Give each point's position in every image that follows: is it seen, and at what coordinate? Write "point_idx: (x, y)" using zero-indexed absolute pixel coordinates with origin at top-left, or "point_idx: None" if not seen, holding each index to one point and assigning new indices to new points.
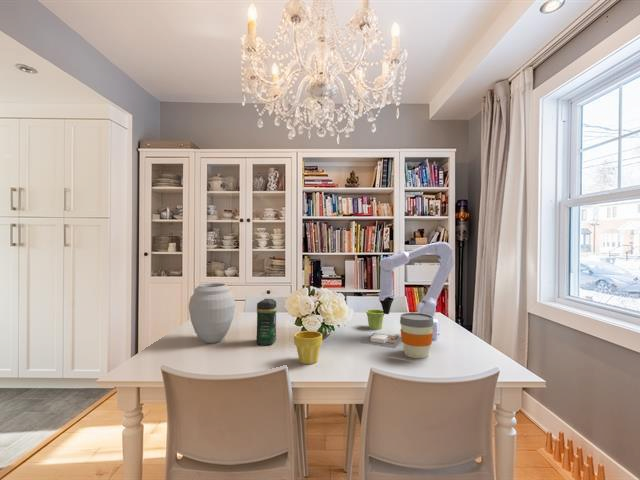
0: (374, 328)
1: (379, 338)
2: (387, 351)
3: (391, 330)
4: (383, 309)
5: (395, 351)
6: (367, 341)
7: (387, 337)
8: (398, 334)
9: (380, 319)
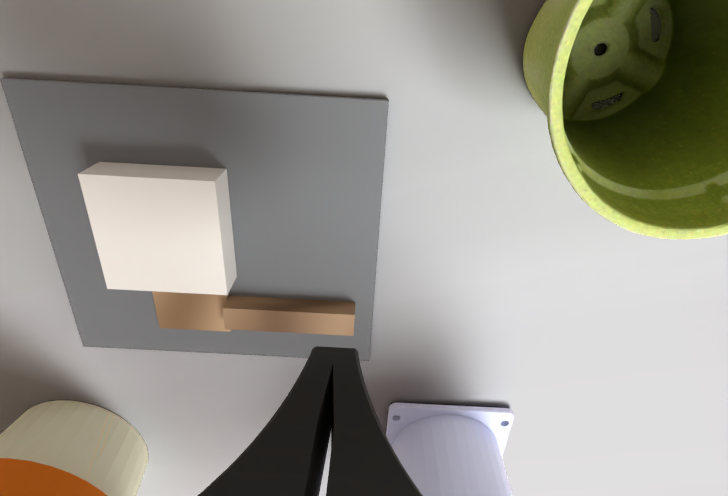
0: (524, 66)
1: (102, 252)
2: (13, 317)
3: (570, 219)
4: (295, 394)
5: (53, 355)
6: (80, 134)
7: (199, 289)
8: (352, 333)
9: (585, 159)
